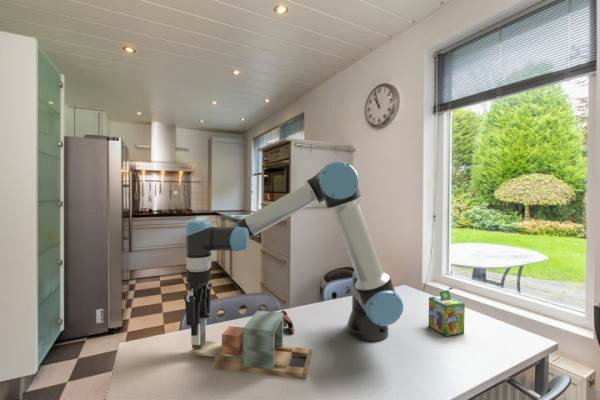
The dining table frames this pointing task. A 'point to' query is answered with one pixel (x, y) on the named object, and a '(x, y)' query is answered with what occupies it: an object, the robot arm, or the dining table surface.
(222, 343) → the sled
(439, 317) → the chalk box
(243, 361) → the tunnel deck
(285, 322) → the pottery mug
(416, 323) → the dining table surface
